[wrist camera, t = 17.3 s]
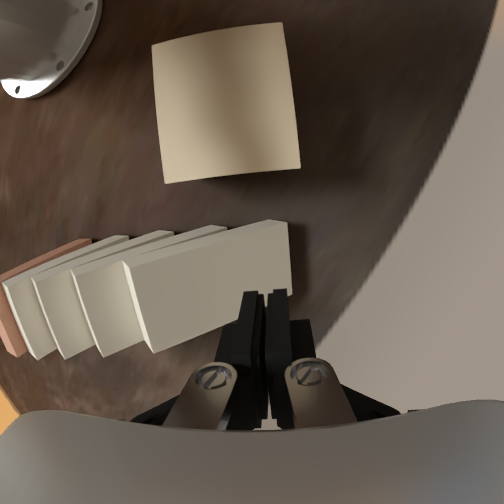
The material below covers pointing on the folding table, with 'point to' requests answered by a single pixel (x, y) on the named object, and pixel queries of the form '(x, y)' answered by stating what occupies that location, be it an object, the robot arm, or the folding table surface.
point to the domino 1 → (3, 319)
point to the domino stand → (225, 103)
